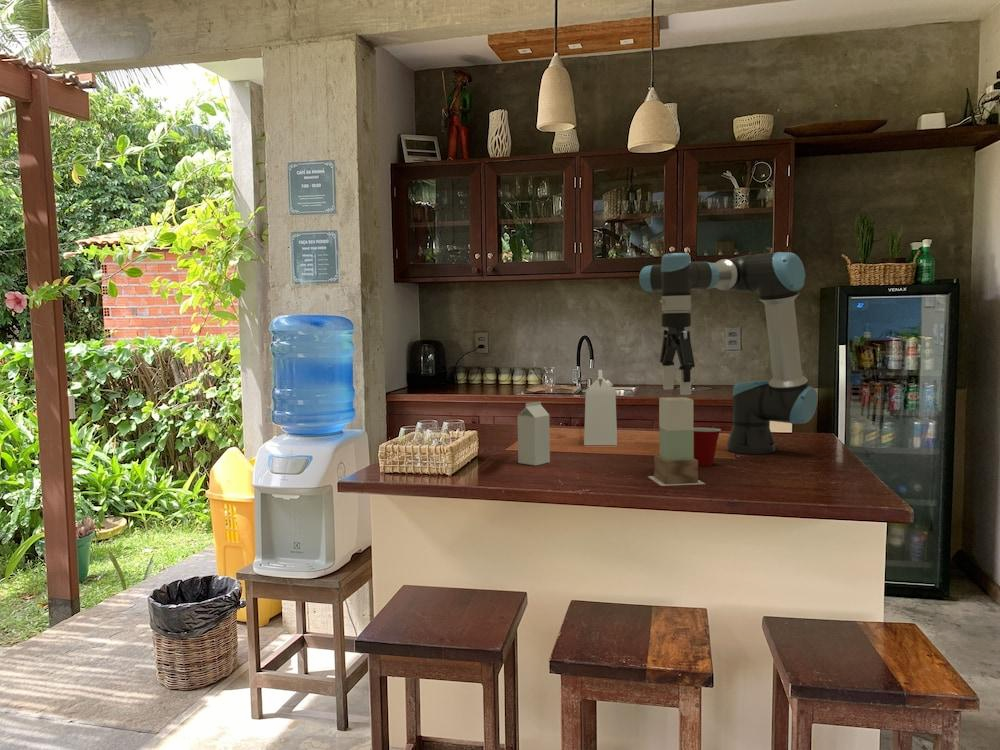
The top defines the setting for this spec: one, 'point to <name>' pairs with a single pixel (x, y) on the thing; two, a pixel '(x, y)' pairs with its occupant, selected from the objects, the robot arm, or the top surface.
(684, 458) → the sage brick
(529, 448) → the milk carton
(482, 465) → the top surface
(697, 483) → the plate
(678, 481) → the walnut base brick
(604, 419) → the milk
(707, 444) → the plastic cup
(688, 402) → the cream brick
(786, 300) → the robot arm
